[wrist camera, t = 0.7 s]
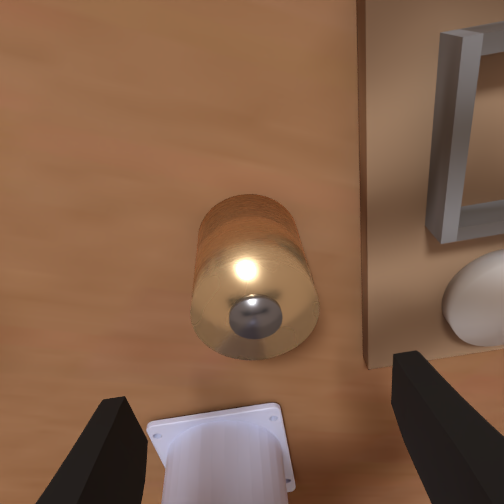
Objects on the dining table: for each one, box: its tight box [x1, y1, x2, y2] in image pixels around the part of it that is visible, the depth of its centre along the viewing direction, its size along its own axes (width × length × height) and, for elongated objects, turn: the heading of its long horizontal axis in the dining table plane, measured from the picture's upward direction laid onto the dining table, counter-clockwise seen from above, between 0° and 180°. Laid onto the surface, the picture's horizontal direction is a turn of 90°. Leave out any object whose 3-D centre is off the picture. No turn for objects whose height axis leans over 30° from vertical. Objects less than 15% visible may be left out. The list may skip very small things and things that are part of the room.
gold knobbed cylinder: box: [190, 194, 319, 360], centre depth 16 cm, size 4×4×5 cm
